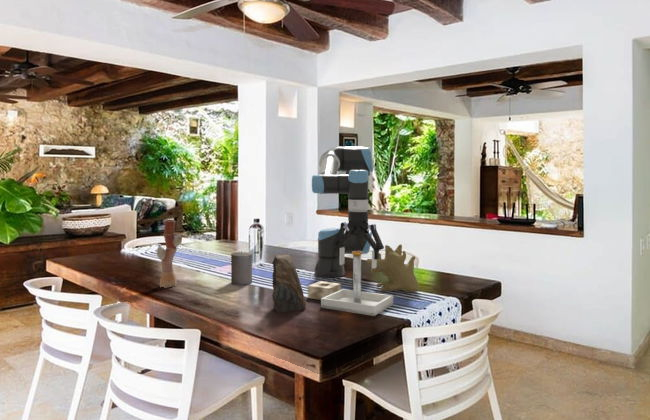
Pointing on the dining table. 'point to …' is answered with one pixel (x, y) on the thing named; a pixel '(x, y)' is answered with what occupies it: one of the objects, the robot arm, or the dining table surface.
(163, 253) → the abstract sculpture
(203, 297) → the dining table surface
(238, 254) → the pillar candle
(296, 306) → the brown rock
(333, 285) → the pin block
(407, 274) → the decorative coral
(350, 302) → the tray
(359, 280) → the steel pin
